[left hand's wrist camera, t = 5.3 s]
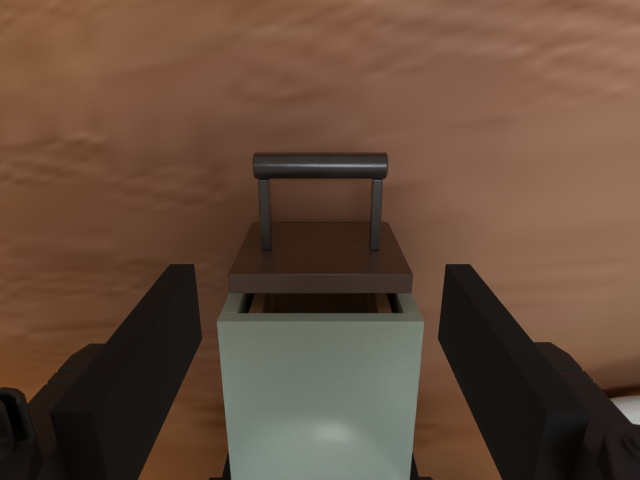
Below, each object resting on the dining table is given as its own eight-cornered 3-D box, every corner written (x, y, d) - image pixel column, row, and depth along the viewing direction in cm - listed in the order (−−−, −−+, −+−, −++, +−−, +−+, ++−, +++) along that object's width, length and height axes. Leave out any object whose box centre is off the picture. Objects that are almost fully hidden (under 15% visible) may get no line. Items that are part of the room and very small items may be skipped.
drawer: (247, 140, 30) (219, 164, 22) (392, 140, 30) (421, 164, 22) (262, 406, 38) (245, 501, 29) (378, 406, 38) (395, 501, 29)
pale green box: (248, 247, 34) (216, 321, 24) (392, 247, 34) (424, 321, 24) (259, 430, 40) (237, 553, 30) (381, 430, 40) (403, 553, 30)
